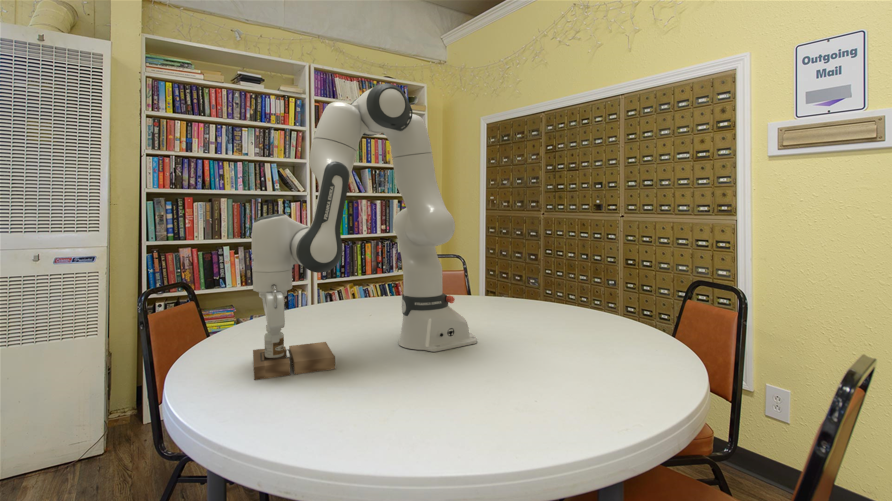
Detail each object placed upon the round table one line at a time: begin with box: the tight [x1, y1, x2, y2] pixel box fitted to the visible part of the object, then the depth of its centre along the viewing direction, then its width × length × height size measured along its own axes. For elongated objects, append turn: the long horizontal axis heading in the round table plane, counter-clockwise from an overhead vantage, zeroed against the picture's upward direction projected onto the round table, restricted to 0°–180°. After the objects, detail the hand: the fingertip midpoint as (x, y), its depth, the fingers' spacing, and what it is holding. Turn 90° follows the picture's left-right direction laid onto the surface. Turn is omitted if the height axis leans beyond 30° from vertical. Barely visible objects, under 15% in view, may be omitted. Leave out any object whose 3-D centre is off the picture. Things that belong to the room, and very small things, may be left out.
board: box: [252, 341, 336, 381], centre depth 116 cm, size 18×14×3 cm
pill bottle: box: [263, 324, 285, 358], centre depth 114 cm, size 4×4×8 cm
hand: (274, 338), depth 114 cm, fingers closed on pill bottle, 4 cm apart
